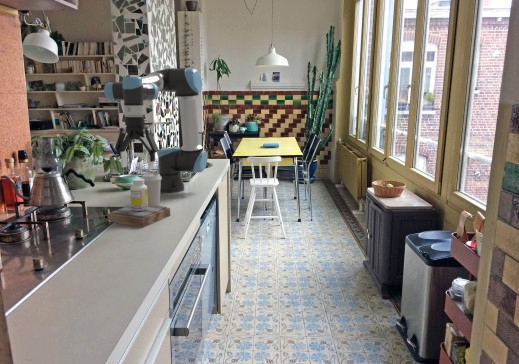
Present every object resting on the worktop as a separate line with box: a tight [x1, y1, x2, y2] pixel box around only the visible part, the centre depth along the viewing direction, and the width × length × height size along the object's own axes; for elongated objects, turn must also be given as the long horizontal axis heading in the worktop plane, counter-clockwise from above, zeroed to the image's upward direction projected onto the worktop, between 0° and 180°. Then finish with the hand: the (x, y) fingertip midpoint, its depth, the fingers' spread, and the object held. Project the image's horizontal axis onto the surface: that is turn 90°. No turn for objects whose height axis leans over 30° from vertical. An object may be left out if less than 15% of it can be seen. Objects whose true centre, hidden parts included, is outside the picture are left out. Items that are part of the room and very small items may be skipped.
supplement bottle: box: [130, 178, 148, 211], centre depth 175 cm, size 7×7×13 cm
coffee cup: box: [140, 172, 162, 206], centre depth 196 cm, size 10×10×15 cm
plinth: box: [107, 204, 171, 228], centre depth 177 cm, size 18×18×4 cm
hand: (137, 168), depth 173 cm, fingers open, 13 cm apart
